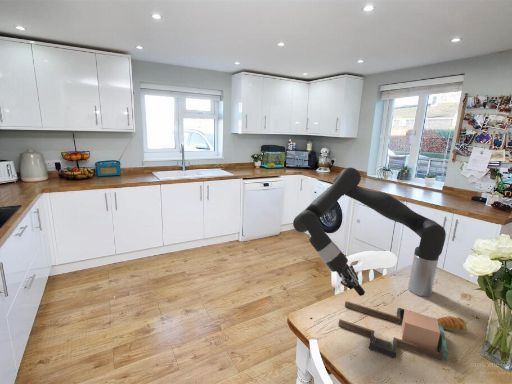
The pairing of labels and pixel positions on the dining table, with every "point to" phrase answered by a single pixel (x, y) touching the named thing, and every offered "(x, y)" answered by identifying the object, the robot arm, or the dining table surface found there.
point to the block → (420, 330)
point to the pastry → (453, 324)
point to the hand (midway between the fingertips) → (362, 294)
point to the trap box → (385, 346)
